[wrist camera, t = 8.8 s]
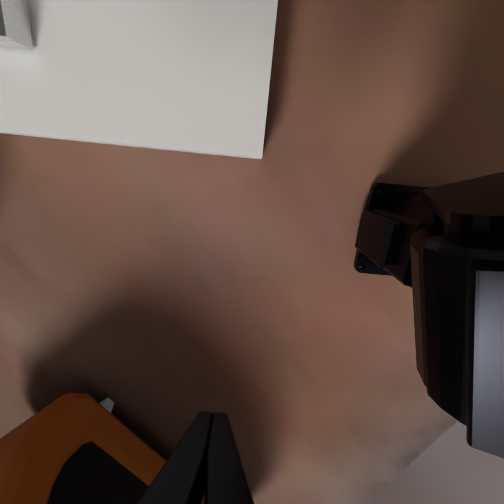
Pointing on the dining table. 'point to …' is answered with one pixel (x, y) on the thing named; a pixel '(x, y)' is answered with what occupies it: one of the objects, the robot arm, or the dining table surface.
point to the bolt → (15, 25)
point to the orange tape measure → (75, 457)
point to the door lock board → (143, 74)
